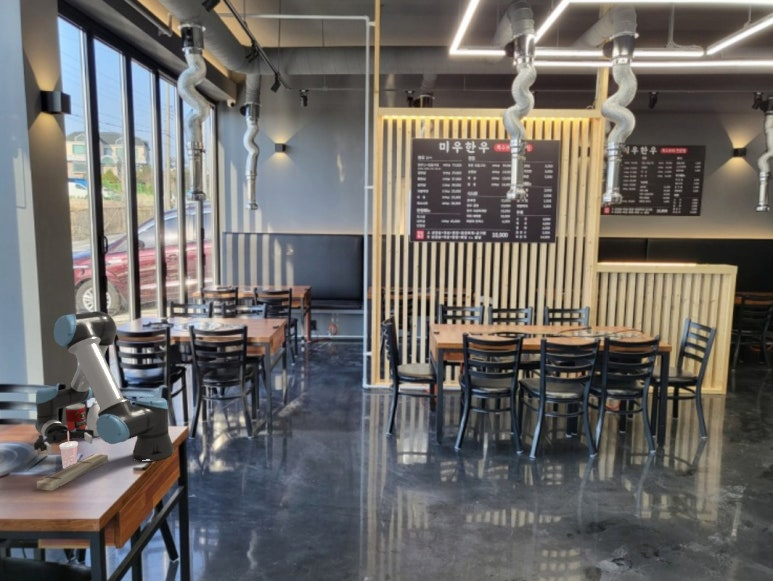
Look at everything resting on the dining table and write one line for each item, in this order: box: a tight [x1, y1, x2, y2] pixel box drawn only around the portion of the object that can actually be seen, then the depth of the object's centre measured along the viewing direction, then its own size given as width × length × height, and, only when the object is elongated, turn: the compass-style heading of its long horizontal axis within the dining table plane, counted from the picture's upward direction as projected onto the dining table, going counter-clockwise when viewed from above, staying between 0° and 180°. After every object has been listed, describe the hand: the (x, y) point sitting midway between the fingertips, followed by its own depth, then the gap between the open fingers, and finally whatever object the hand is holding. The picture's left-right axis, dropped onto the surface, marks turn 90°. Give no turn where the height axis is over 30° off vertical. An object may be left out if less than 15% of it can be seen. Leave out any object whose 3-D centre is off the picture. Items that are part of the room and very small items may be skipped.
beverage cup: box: [58, 431, 79, 469], centre depth 200 cm, size 6×6×14 cm
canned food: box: [65, 403, 87, 430], centre depth 242 cm, size 8×8×11 cm
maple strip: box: [36, 453, 109, 492], centre depth 194 cm, size 6×26×3 cm, turn 166°
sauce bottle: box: [86, 398, 100, 437], centre depth 234 cm, size 8×8×18 cm
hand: (71, 444), depth 198 cm, fingers open, 13 cm apart
